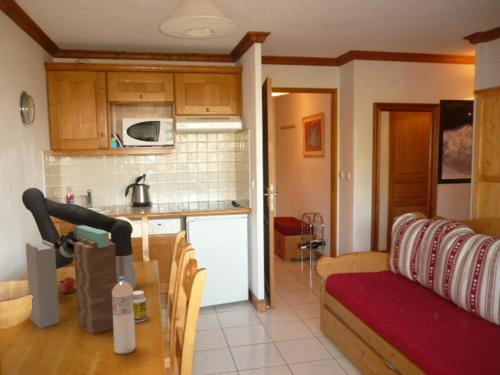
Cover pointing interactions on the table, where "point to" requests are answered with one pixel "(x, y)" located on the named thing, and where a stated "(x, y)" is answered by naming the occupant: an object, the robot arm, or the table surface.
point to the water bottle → (123, 317)
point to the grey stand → (42, 283)
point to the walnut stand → (95, 284)
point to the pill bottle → (139, 306)
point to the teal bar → (92, 235)
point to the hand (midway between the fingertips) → (83, 231)
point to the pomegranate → (67, 285)
